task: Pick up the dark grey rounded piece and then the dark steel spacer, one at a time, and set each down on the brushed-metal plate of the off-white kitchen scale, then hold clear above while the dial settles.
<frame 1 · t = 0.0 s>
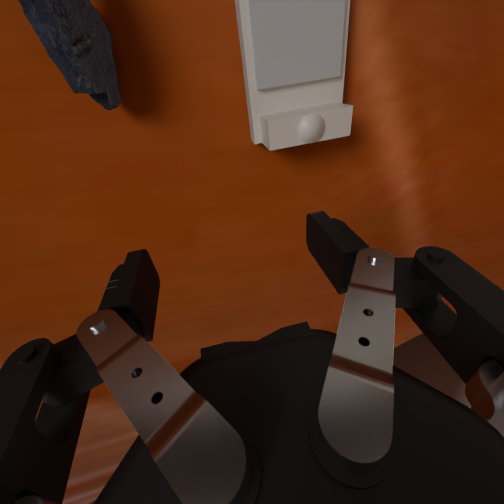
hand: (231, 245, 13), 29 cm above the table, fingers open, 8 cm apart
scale: (291, 64, 33), on the table
stone: (88, 35, 28), on the table
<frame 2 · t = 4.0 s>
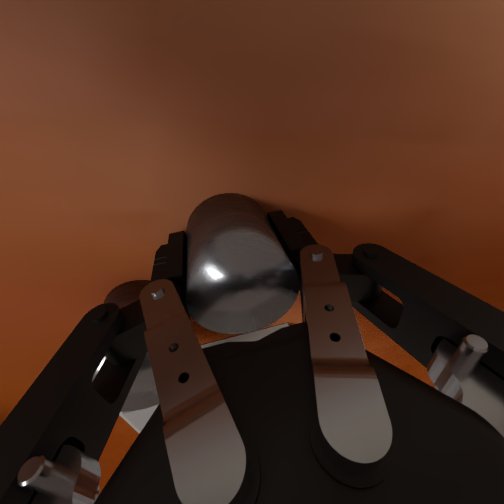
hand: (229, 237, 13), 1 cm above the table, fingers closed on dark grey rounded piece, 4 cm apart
dark grey rounded piece: (228, 231, 14), on the table, touching gripper
spacer b: (144, 307, 16), on the table
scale: (225, 396, 24), on the table
when the fingers open (5 cm above the table, at t = 8.7 s): dark grey rounded piece stays where it is, resting on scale.
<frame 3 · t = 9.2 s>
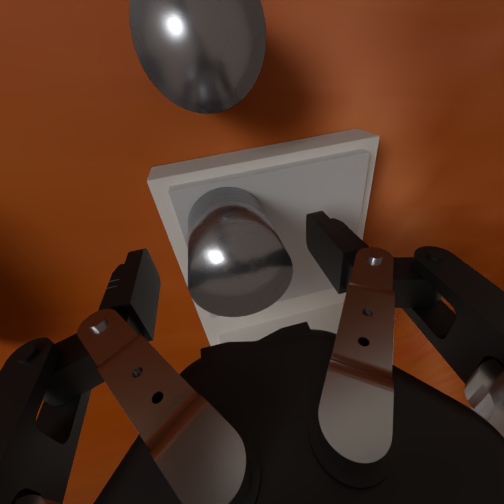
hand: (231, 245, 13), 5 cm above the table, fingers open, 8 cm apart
dark grey rounded piece: (227, 223, 14), point 3 cm above the table, touching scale
spacer b: (197, 50, 12), on the table
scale: (269, 255, 21), on the table
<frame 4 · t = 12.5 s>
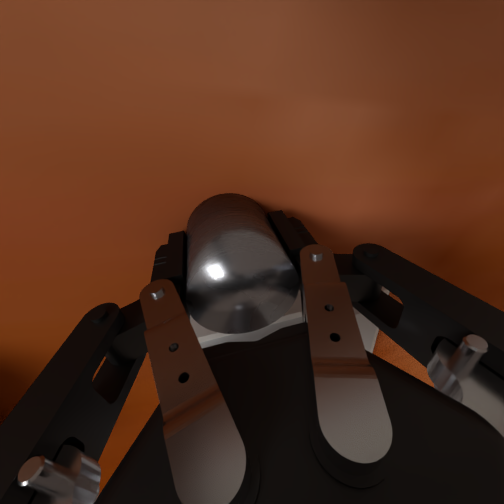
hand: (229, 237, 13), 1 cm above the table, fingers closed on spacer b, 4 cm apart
spacer b: (228, 231, 14), on the table, touching gripper
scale: (284, 356, 22), on the table
when the fingers open (5 cm above the table, at t = 17.5 s): spacer b stays where it is, resting on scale.
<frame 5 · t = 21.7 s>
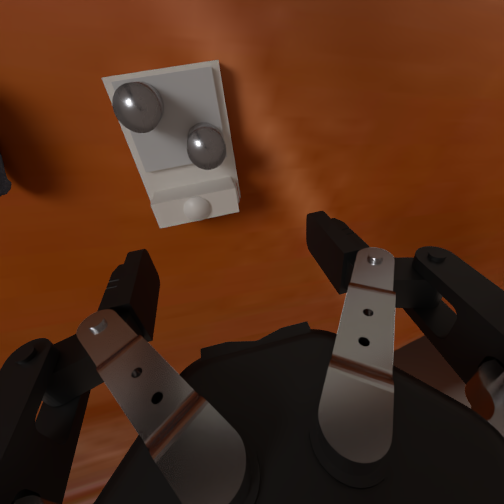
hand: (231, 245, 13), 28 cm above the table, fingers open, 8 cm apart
dark grey rounded piece: (144, 104, 29), point 3 cm above the table, touching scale
spacer b: (204, 140, 33), point 3 cm above the table, touching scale
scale: (183, 143, 35), on the table
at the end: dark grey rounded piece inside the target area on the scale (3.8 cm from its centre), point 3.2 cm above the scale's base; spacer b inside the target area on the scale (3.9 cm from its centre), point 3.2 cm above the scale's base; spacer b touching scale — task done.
